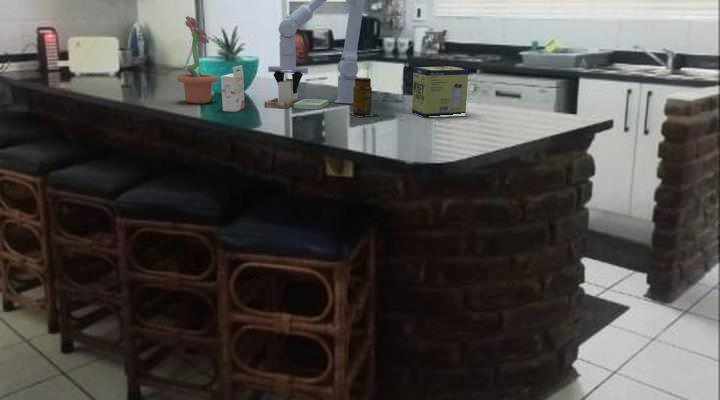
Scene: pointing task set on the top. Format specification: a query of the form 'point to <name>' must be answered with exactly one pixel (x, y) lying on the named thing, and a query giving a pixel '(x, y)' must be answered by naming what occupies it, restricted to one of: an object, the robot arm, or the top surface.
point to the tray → (311, 104)
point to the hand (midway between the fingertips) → (288, 92)
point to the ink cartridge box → (233, 90)
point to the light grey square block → (286, 91)
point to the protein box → (439, 91)
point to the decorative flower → (195, 83)
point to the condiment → (362, 97)
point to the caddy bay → (275, 104)
